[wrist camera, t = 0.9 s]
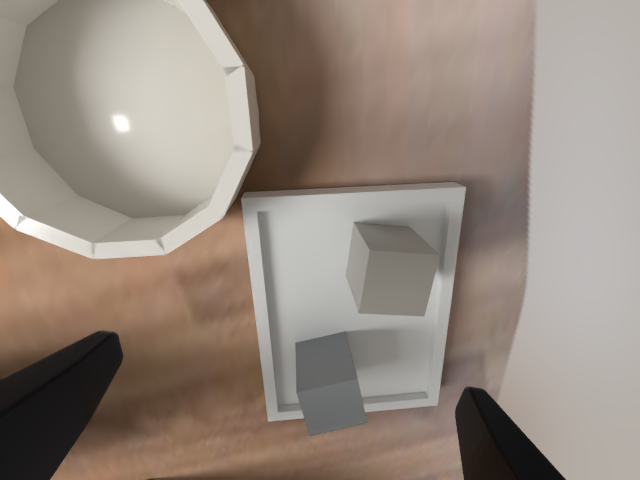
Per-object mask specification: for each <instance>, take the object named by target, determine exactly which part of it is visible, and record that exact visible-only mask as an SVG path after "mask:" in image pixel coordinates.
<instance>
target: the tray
mask: <svg viewBox="0 0 640 480" xmlns="http://www.w3.org/2000/svg"><path fill="white" fill-rule="evenodd" d="M465 192H466V187H465V186H462V185H460V184H458V183H455V182H439V183H419V184H399V185H379V186H359V187H339V188H319V189H298V190H278V191H258V192H244V194H243V196H242V198H241V203H242V211H243V220H244V228H245V236H246V244H247V252H248V261H249V269H250V277H251V285H252V293H253V302H254V310H255V318H256V326H257V334H258V343H259V351H260V359H261V367H262V375H263V384H264V392H265V400H266V408H267V416H268V422H269V421H279V420H289V419H300V418H304V415H303V412H302V409H301V406H300V403H299V400H298V396H297V393H296V352H295V343H296V342H301V341H305V340H310V339H314V338H318V337H323V336H327V335H332V334H336V333H340V332H345V331H346V334H347V338H348V342H349V346H350V350H351V354H352V358H353V362H354V366H355V370H356V374H357V377H358V382H359V387H360V391H361V396H362V400H363V405H364V410H365V412H372V411H383V410H393V409H404V408H414V407H424V406H435V405H438V399H439V391H440V384H441V376H442V368H443V361H444V353H445V345H446V338H447V330H448V322H449V315H450V307H451V299H452V292H453V284H454V276H455V269H456V261H457V253H458V246H459V238H460V230H461V223H462V215H463V207H464V200H465ZM353 222H357V223H370V224H382V225H395V226H408V227H411V228H412V229H413V230H414V231H415V232H416V233H417V234H418V235H420V236H421V237H422V238H423V239H424V240H425V241H426V242H427V243H428V244H429V245H430V246H431V247H432V248H433V249H434V250H435V251H436V252H438V253H439V254H440V258H439V261H438V265H437V269H436V273H435V277H434V281H433V285H432V289H431V293H430V297H429V300H428V304H427V308H426V312H425V316H403V315H381V314H359V313H358V310H357V307H356V304H355V301H354V298H353V295H352V292H351V289H350V286H349V283H348V281H347V278H346V269H347V262H348V256H349V249H350V242H351V236H352V229H353Z"/></svg>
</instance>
